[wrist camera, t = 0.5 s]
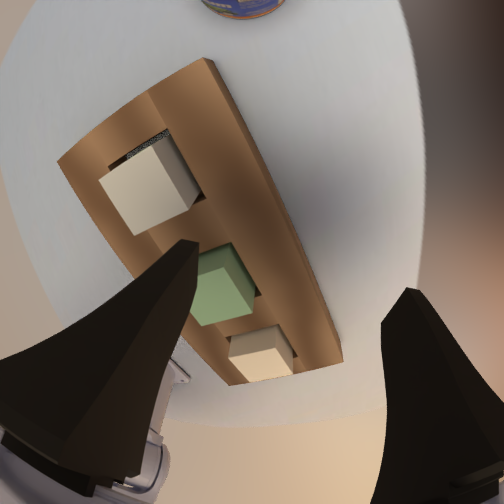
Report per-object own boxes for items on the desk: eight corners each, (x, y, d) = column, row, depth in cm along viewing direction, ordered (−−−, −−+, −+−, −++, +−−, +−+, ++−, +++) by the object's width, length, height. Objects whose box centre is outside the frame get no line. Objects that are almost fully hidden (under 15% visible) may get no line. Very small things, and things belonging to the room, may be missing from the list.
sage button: (209, 298, 22) (201, 326, 20) (181, 259, 21) (169, 285, 18) (255, 283, 21) (252, 312, 19) (230, 240, 19) (223, 267, 17)
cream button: (252, 356, 26) (249, 382, 24) (232, 330, 24) (228, 357, 22) (292, 346, 25) (292, 374, 23) (276, 319, 23) (275, 347, 21)
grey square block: (152, 213, 19) (134, 235, 16) (121, 163, 17) (98, 180, 14) (201, 189, 18) (188, 209, 15) (170, 133, 16) (151, 145, 13)
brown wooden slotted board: (231, 366, 30) (228, 388, 28) (76, 151, 18) (54, 162, 15) (340, 341, 27) (343, 364, 24) (212, 60, 14) (201, 57, 12)
